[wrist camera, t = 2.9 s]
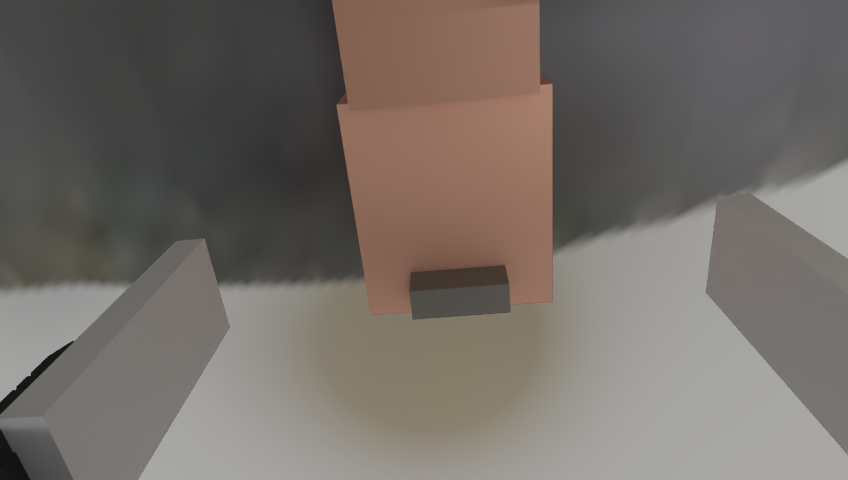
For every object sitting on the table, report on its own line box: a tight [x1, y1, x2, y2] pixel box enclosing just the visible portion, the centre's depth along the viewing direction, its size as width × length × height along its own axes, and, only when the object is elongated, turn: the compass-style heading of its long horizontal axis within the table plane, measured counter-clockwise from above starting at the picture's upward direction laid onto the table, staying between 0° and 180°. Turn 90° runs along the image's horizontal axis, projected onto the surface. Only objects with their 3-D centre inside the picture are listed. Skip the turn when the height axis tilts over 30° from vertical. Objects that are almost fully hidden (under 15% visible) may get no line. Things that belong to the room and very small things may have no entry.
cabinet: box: [332, 0, 553, 319], centre depth 19 cm, size 6×10×9 cm, turn 5°
